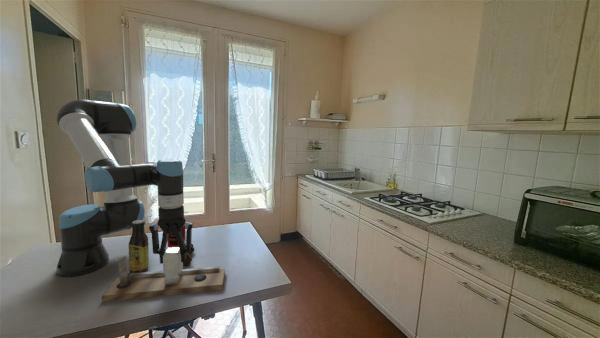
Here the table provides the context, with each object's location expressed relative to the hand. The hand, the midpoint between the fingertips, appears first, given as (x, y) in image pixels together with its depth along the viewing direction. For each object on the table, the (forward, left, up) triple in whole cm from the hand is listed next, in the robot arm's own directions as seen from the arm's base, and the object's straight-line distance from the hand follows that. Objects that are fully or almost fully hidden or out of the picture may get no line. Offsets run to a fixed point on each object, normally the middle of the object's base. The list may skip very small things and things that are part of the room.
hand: (173, 270), depth 83 cm
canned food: (-7, +32, -6) cm, 33 cm away
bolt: (0, +20, -6) cm, 21 cm away
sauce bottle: (-15, +12, -6) cm, 20 cm away
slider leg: (0, 0, -3) cm, 3 cm away
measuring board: (-1, 0, -6) cm, 6 cm away
